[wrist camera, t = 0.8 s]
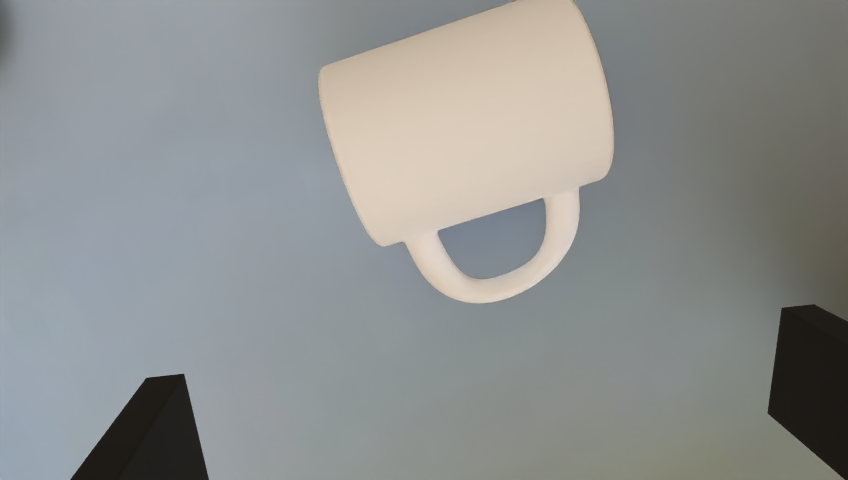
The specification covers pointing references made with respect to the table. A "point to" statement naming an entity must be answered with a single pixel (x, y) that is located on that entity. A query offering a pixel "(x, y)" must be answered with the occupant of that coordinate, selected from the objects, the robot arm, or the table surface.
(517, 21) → the mug
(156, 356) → the table surface
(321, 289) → the table surface
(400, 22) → the table surface
